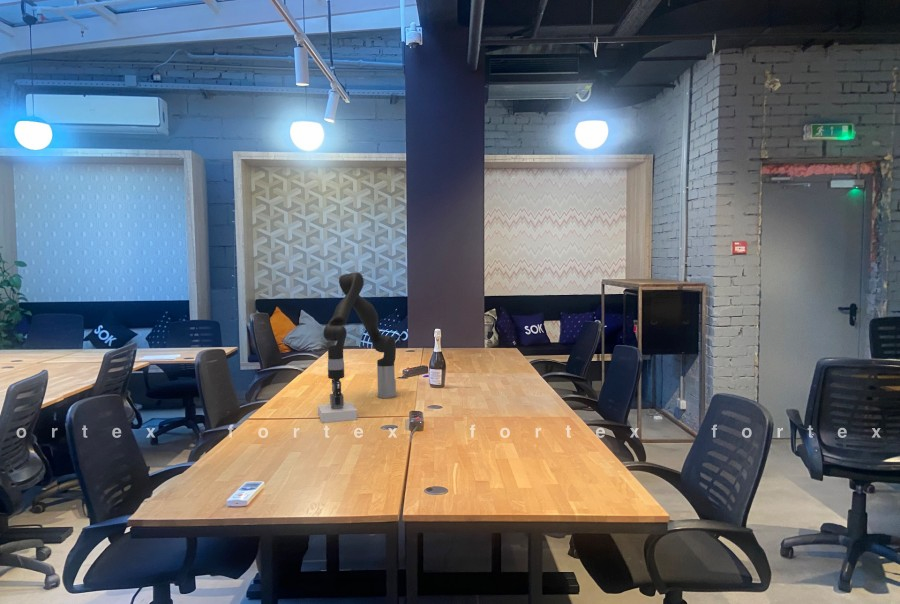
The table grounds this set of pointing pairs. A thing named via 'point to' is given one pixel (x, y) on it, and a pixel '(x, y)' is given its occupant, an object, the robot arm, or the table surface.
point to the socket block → (337, 413)
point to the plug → (332, 401)
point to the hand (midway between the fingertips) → (336, 403)
